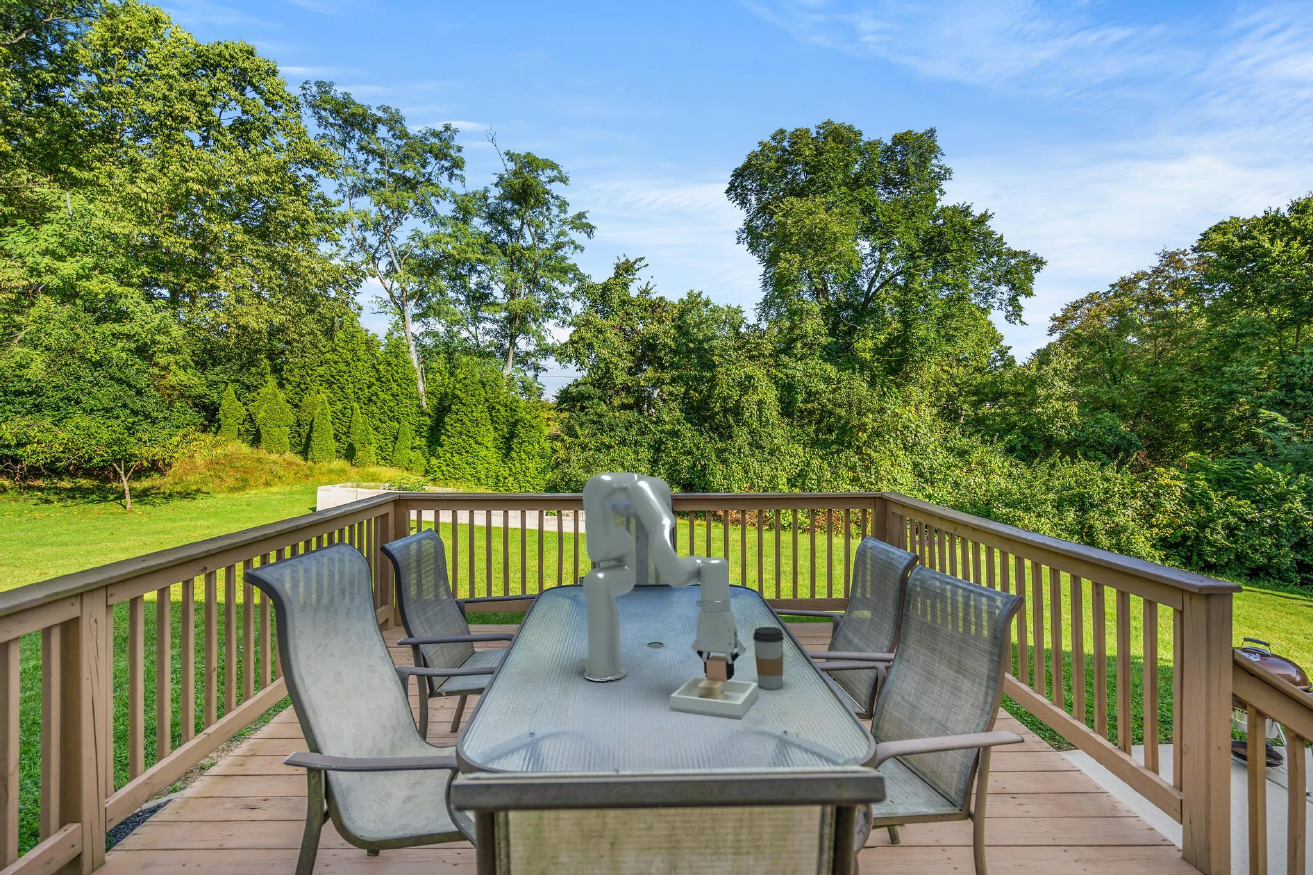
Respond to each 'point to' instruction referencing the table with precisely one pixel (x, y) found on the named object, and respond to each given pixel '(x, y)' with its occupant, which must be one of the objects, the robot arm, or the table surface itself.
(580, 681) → the table surface
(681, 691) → the tray
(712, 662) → the terracotta block
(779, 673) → the coffee cup
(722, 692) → the maple block
